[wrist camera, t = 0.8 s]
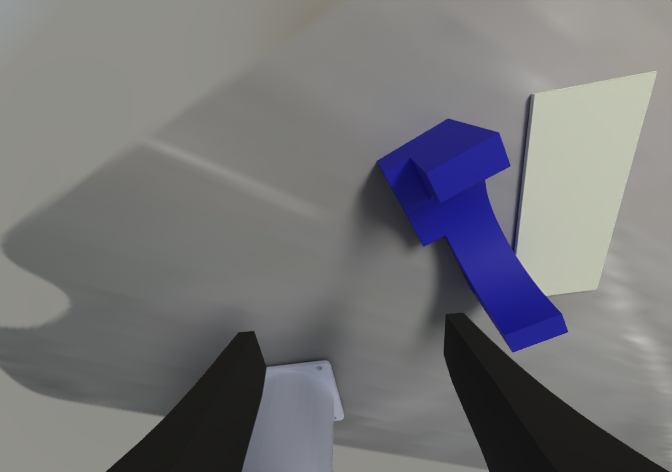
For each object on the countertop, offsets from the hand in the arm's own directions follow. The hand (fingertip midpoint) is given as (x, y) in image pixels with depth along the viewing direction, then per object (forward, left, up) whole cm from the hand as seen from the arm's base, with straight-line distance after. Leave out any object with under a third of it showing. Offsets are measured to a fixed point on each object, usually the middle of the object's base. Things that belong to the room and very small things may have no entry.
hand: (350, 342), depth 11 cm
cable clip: (+7, 0, -10) cm, 12 cm away
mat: (+14, -1, -10) cm, 17 cm away
